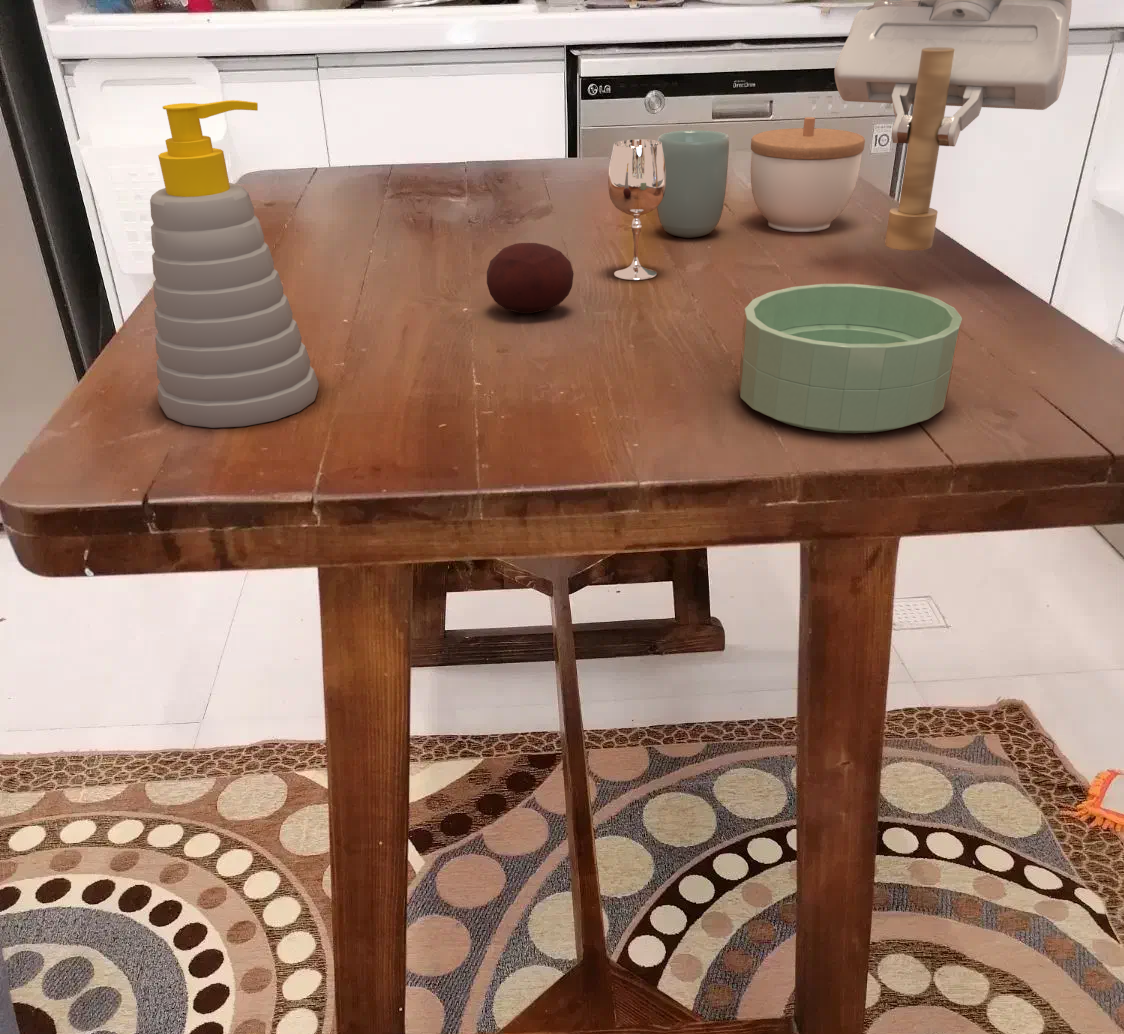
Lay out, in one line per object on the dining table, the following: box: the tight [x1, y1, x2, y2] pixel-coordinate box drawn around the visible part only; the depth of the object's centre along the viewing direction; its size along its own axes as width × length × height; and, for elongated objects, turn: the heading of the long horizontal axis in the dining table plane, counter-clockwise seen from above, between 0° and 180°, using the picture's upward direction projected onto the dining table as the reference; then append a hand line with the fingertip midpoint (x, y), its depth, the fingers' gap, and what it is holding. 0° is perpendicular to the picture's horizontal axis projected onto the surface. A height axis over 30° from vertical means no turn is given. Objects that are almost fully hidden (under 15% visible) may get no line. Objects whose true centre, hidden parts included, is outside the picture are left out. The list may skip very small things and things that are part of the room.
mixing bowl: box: [738, 283, 963, 434], centre depth 82 cm, size 15×15×6 cm
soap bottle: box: [149, 99, 320, 429], centre depth 81 cm, size 12×12×20 cm
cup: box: [656, 129, 730, 239], centre depth 124 cm, size 8×8×10 cm
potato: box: [486, 242, 575, 314], centre depth 102 cm, size 7×8×6 cm
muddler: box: [884, 47, 955, 252], centre depth 101 cm, size 4×4×16 cm
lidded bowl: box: [750, 116, 866, 233], centre depth 126 cm, size 13×13×11 cm
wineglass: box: [607, 138, 667, 281], centre depth 110 cm, size 6×6×12 cm
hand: (922, 140), depth 100 cm, fingers closed on muddler, 3 cm apart
